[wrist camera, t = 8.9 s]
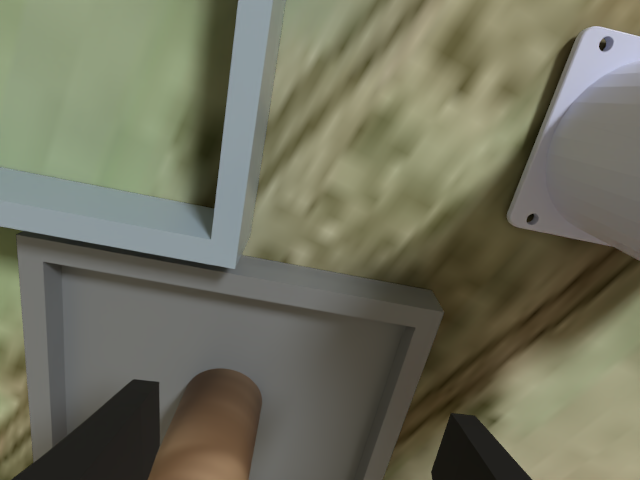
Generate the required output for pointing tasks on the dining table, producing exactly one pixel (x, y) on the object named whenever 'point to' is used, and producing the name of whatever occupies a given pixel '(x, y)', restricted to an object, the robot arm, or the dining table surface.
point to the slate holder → (162, 214)
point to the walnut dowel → (211, 429)
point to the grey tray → (226, 348)
